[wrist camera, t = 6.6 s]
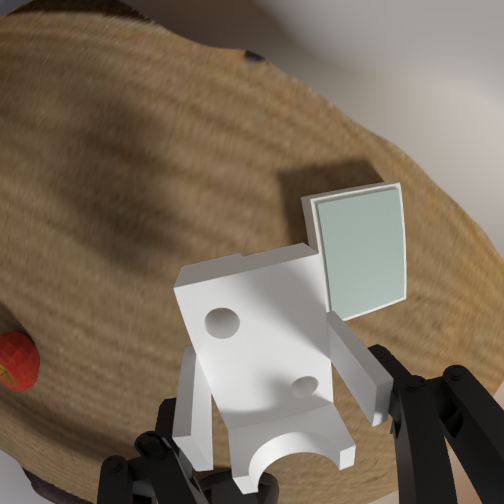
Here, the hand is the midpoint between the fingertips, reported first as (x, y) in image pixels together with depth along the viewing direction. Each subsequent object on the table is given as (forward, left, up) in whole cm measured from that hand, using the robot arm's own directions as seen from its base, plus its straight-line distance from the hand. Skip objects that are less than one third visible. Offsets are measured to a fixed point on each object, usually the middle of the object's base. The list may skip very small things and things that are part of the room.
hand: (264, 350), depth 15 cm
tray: (+12, 0, -14) cm, 18 cm away
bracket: (0, -1, -3) cm, 3 cm away
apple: (-32, -4, -14) cm, 35 cm away
